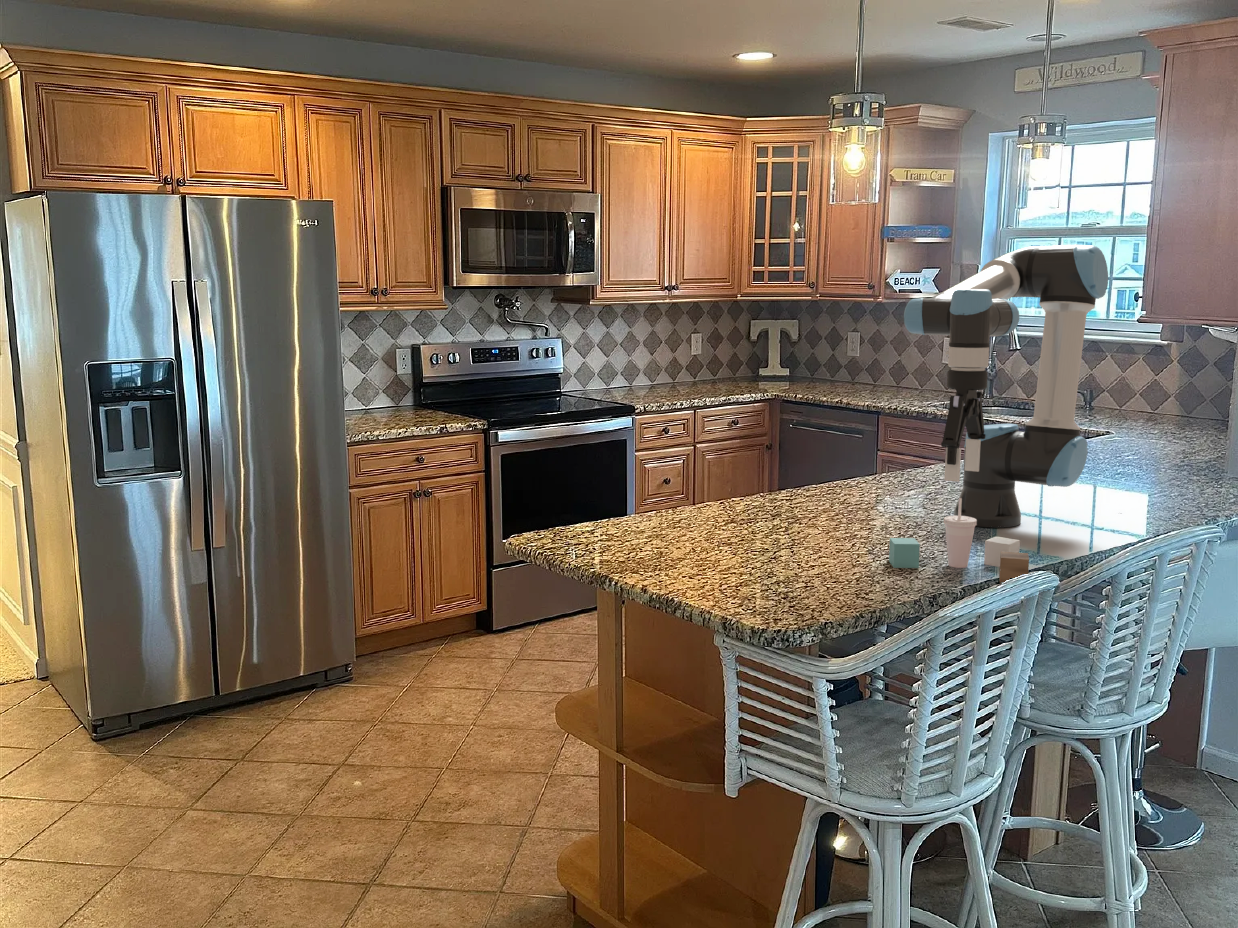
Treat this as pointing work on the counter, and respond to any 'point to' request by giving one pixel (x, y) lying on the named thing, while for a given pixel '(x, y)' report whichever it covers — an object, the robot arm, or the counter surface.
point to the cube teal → (904, 553)
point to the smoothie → (959, 538)
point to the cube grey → (999, 549)
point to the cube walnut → (1013, 565)
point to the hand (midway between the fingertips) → (962, 475)
